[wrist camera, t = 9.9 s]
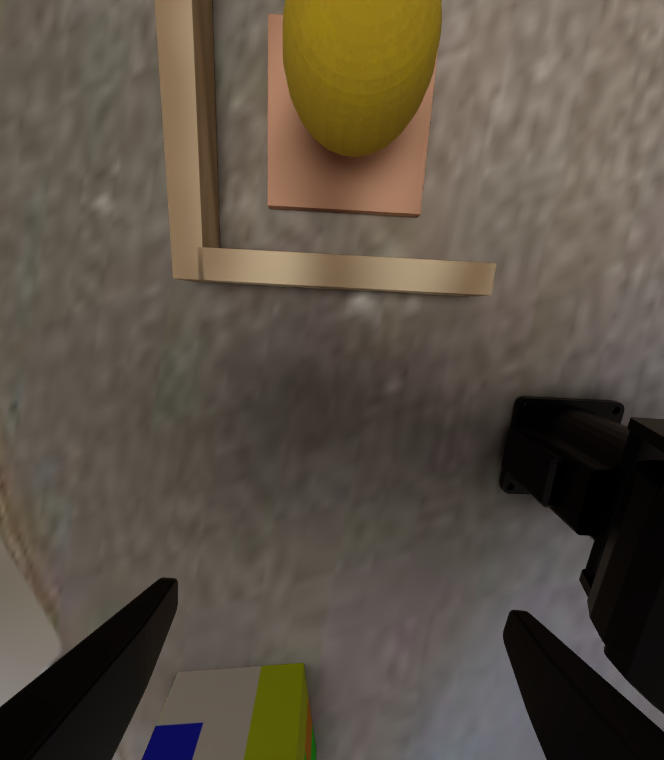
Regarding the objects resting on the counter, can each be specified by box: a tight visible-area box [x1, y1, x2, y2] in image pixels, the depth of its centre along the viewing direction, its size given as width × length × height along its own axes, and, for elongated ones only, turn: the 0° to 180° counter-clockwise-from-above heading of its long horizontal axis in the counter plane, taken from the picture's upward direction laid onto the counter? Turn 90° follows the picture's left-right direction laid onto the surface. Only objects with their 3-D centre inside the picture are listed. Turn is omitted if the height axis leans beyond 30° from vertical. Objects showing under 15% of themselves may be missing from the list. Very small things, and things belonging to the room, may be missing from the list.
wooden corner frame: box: [155, 0, 496, 296], centre depth 15 cm, size 16×16×2 cm
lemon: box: [283, 0, 442, 157], centre depth 12 cm, size 6×6×8 cm
